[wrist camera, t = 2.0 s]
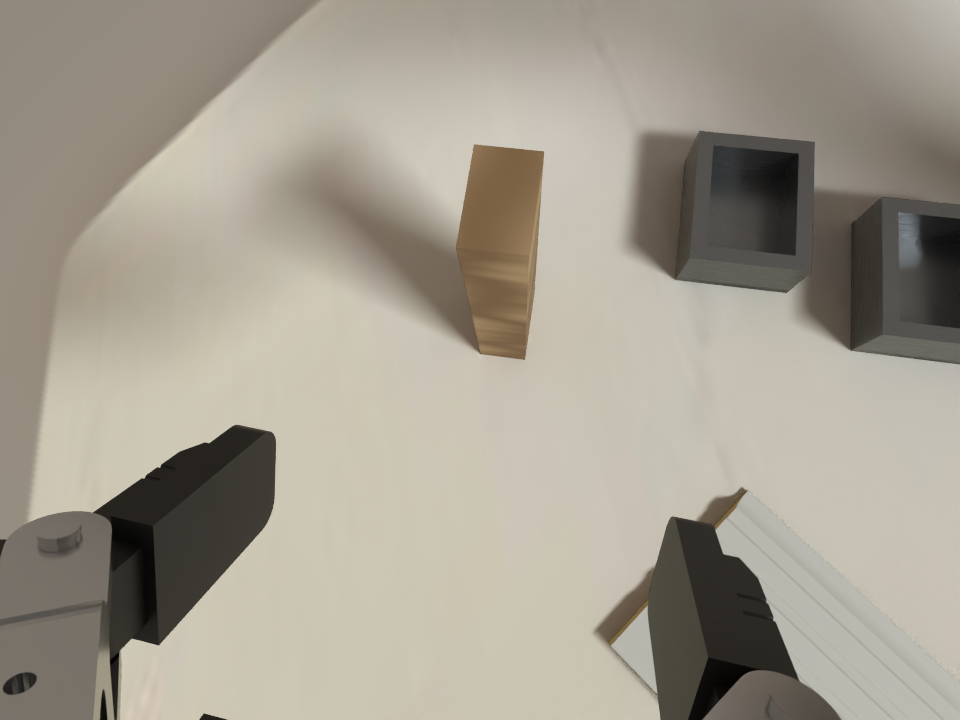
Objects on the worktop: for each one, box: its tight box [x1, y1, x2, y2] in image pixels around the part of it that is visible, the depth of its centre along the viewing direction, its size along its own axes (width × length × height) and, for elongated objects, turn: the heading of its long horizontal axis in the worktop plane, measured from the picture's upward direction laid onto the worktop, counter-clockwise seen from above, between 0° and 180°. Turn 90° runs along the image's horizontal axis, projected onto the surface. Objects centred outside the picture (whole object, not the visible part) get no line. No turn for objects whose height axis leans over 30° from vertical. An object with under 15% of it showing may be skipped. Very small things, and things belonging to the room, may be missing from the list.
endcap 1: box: [676, 131, 815, 293], centre depth 34 cm, size 6×8×3 cm
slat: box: [456, 145, 544, 360], centre depth 28 cm, size 2×4×14 cm, turn 172°
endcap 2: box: [851, 197, 960, 364], centre depth 32 cm, size 6×8×3 cm
